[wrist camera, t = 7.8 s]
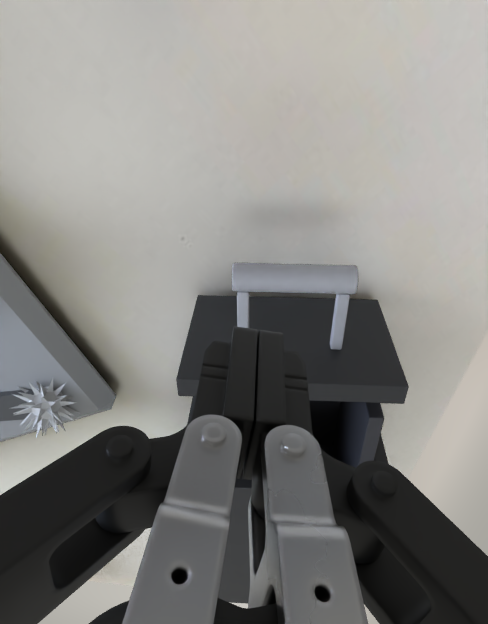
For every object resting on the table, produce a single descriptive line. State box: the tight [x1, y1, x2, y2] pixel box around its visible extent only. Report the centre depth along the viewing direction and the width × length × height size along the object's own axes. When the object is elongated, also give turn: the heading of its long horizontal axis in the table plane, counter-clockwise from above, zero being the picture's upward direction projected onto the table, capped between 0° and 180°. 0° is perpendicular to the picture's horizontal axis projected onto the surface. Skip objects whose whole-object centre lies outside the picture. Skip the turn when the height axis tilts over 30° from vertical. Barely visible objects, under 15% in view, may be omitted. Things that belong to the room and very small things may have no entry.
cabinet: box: [187, 396, 388, 603], centre depth 33 cm, size 15×13×10 cm
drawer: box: [176, 263, 409, 477], centre depth 27 cm, size 18×11×8 cm, turn 0°
